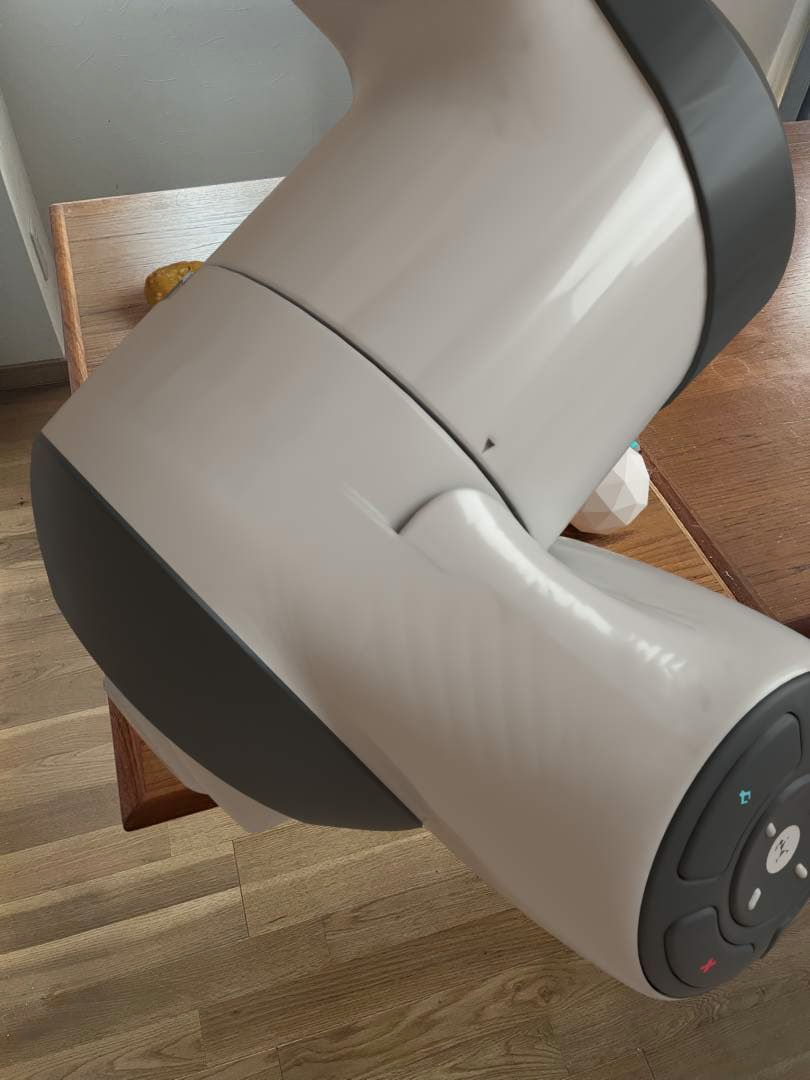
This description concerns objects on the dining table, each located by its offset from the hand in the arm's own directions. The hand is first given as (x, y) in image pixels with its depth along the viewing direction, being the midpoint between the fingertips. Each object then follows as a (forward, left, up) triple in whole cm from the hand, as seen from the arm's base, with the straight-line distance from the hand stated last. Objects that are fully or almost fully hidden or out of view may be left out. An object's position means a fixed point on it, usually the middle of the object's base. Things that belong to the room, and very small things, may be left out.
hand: (283, 545), depth 41 cm
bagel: (-11, +52, -20) cm, 57 cm away
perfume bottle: (+26, +21, -20) cm, 39 cm away
